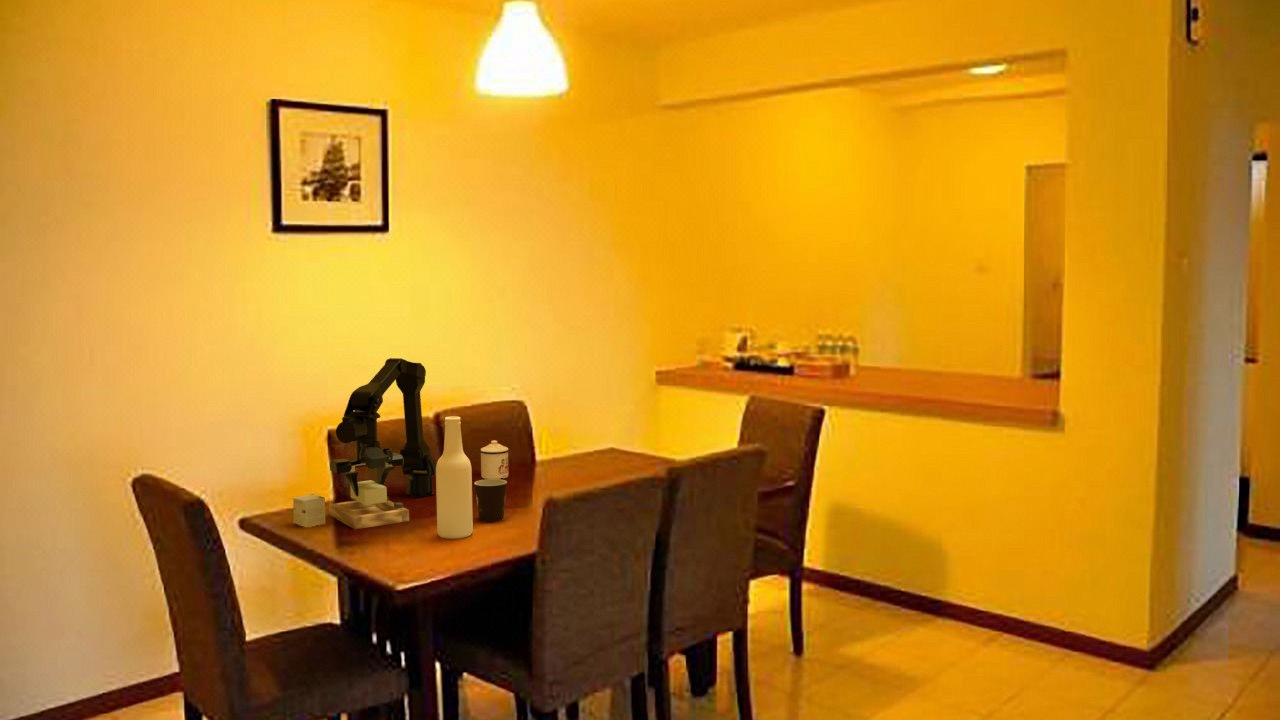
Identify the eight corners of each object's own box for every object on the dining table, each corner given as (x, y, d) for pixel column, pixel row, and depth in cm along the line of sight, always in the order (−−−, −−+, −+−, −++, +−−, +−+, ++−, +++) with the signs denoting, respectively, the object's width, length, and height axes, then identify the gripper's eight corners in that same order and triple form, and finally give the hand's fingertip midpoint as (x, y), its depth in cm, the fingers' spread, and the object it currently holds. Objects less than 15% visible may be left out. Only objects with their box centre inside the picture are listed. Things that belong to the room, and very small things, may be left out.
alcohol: (441, 530, 274) (438, 414, 271) (475, 530, 274) (473, 414, 271) (434, 539, 265) (431, 419, 263) (469, 539, 265) (466, 419, 262)
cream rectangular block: (372, 494, 293) (371, 480, 293) (386, 502, 284) (386, 487, 284) (350, 497, 290) (350, 482, 290) (365, 505, 281) (364, 490, 280)
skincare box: (293, 524, 281) (292, 497, 280) (313, 520, 286) (312, 493, 285) (305, 528, 277) (304, 500, 276) (326, 524, 282) (325, 496, 281)
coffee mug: (501, 523, 280) (500, 486, 279) (470, 522, 282) (469, 485, 281) (515, 513, 292) (514, 477, 291) (485, 512, 294) (484, 476, 293)
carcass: (381, 507, 300) (381, 493, 299) (409, 520, 284) (408, 506, 284) (329, 515, 291) (328, 500, 291) (354, 529, 276) (354, 514, 275)
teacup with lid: (503, 480, 335) (502, 443, 334) (476, 479, 337) (475, 442, 336) (516, 472, 347) (515, 437, 346) (489, 471, 349) (489, 436, 348)
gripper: (343, 445, 274) (345, 504, 275) (411, 437, 284) (413, 495, 286) (328, 439, 283) (330, 497, 284) (394, 431, 293) (396, 487, 295)
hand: (368, 494), depth 287 cm, fingers closed on cream rectangular block, 6 cm apart
